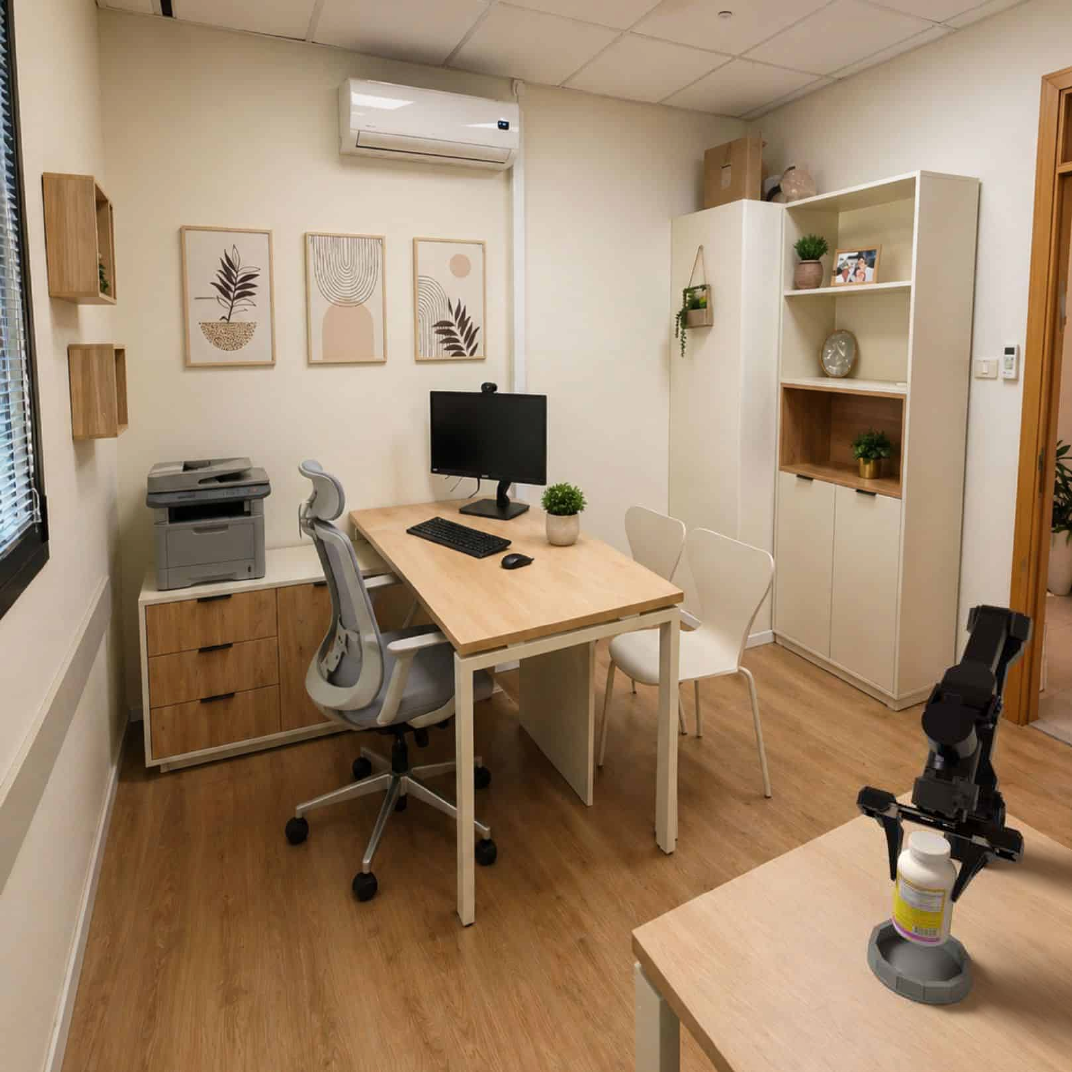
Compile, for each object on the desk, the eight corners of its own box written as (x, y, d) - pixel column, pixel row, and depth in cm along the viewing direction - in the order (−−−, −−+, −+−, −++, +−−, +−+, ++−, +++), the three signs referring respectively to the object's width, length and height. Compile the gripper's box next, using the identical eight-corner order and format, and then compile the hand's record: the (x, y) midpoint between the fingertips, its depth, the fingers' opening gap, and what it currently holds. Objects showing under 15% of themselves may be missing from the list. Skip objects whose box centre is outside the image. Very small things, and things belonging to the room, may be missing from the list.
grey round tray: (878, 921, 113) (879, 906, 112) (976, 955, 106) (978, 938, 106) (857, 979, 103) (858, 963, 103) (964, 1020, 97) (966, 1002, 96)
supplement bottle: (916, 904, 108) (926, 819, 104) (961, 937, 102) (973, 849, 99) (879, 921, 105) (888, 835, 102) (923, 956, 99) (934, 866, 96)
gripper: (864, 730, 106) (832, 848, 101) (1031, 772, 95) (1005, 908, 89) (878, 757, 114) (849, 869, 109) (1033, 799, 103) (1009, 926, 98)
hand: (922, 891), depth 101 cm, fingers closed on supplement bottle, 7 cm apart
